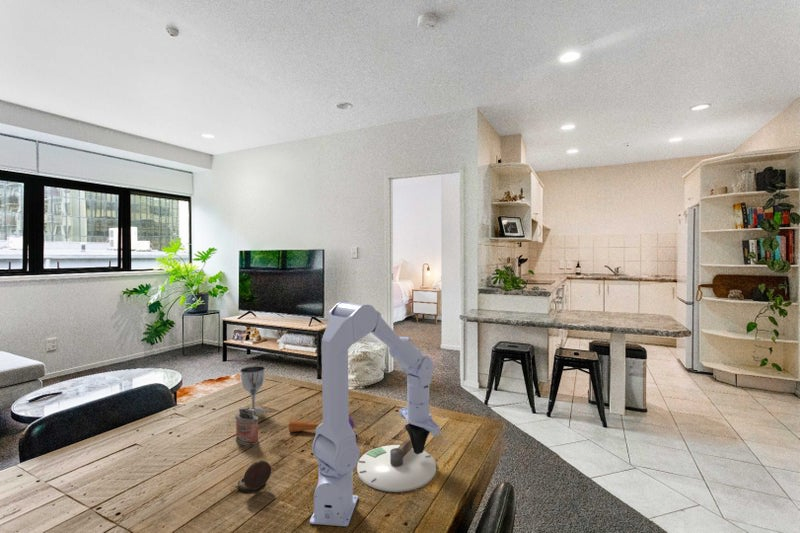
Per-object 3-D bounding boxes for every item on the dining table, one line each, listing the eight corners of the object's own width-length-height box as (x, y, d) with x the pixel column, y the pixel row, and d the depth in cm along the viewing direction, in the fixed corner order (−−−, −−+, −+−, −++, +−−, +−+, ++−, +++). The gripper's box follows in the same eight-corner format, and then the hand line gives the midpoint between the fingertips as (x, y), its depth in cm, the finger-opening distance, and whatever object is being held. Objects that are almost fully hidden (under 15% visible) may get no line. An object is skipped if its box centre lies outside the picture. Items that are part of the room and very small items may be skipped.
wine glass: (240, 409, 136) (240, 367, 135) (264, 405, 139) (263, 364, 139) (241, 418, 129) (241, 373, 128) (266, 413, 132) (266, 370, 132)
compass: (259, 474, 96) (259, 445, 95) (272, 488, 90) (272, 457, 89) (225, 487, 90) (225, 456, 90) (236, 503, 84) (236, 470, 84)
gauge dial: (435, 494, 87) (435, 489, 87) (348, 488, 89) (348, 483, 89) (436, 450, 107) (436, 446, 107) (366, 446, 109) (366, 442, 109)
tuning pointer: (399, 467, 96) (399, 455, 96) (388, 464, 97) (388, 452, 97) (416, 448, 105) (416, 437, 105) (406, 445, 107) (406, 435, 107)
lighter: (232, 441, 112) (232, 407, 112) (242, 436, 115) (242, 403, 115) (252, 447, 109) (251, 412, 108) (261, 442, 112) (261, 408, 111)
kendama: (295, 414, 122) (355, 413, 119) (295, 434, 121) (356, 433, 118) (286, 418, 117) (350, 417, 114) (286, 439, 116) (350, 438, 112)
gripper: (449, 405, 96) (449, 459, 96) (413, 389, 108) (413, 437, 108) (427, 412, 92) (427, 468, 92) (392, 394, 104) (393, 444, 104)
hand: (418, 452), depth 100 cm, fingers closed
